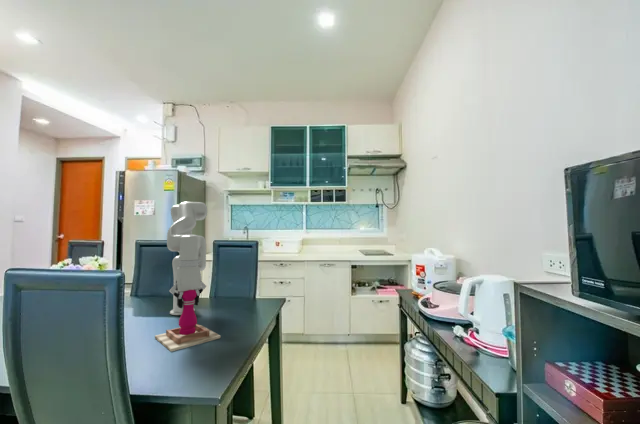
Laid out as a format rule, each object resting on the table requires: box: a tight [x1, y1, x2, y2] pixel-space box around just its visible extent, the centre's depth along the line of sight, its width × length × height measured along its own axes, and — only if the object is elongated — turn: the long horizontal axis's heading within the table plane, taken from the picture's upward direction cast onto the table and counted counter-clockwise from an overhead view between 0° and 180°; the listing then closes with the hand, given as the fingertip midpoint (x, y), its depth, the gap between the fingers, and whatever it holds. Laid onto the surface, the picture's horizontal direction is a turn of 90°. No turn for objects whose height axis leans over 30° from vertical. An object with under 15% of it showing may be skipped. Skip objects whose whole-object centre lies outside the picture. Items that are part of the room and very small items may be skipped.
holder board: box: [154, 323, 221, 352], centre depth 130 cm, size 20×20×3 cm
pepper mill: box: [178, 290, 198, 335], centre depth 130 cm, size 7×7×20 cm
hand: (188, 305), depth 130 cm, fingers closed on pepper mill, 5 cm apart
